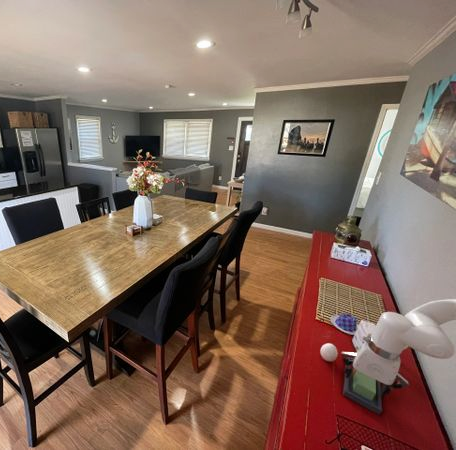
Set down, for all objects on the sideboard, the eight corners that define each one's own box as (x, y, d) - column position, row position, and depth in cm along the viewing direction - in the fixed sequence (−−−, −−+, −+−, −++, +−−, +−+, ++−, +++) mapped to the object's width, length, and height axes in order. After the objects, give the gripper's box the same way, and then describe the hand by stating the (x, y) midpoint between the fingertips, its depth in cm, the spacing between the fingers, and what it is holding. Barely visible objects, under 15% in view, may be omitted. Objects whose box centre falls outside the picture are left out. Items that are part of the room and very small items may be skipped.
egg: (317, 351, 99) (322, 337, 96) (332, 356, 97) (338, 342, 94) (319, 362, 94) (325, 348, 91) (335, 367, 92) (342, 353, 89)
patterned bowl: (341, 314, 119) (344, 305, 117) (367, 332, 109) (372, 323, 107) (324, 319, 115) (327, 311, 113) (350, 339, 105) (354, 330, 103)
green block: (371, 386, 85) (375, 378, 83) (371, 401, 80) (376, 393, 79) (353, 377, 88) (356, 369, 86) (352, 390, 83) (356, 383, 82)
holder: (377, 374, 90) (379, 371, 89) (379, 414, 77) (382, 410, 76) (345, 359, 95) (347, 356, 94) (343, 394, 82) (345, 390, 82)
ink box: (372, 360, 95) (384, 338, 91) (357, 355, 97) (368, 334, 92) (365, 344, 103) (375, 323, 98) (351, 340, 104) (360, 319, 100)
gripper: (349, 340, 79) (333, 375, 85) (423, 373, 69) (399, 410, 75) (350, 327, 84) (335, 361, 91) (419, 355, 74) (396, 391, 81)
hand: (364, 383), depth 83 cm, fingers open, 9 cm apart
